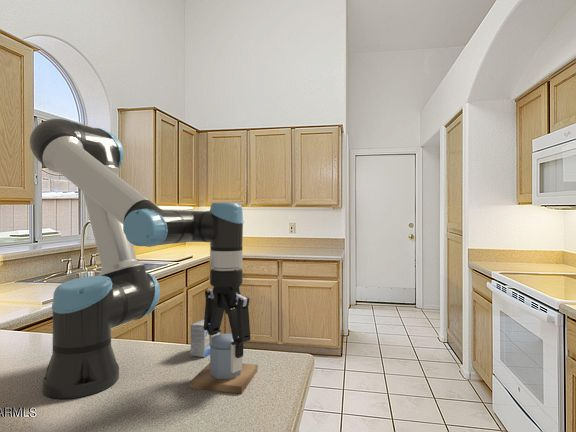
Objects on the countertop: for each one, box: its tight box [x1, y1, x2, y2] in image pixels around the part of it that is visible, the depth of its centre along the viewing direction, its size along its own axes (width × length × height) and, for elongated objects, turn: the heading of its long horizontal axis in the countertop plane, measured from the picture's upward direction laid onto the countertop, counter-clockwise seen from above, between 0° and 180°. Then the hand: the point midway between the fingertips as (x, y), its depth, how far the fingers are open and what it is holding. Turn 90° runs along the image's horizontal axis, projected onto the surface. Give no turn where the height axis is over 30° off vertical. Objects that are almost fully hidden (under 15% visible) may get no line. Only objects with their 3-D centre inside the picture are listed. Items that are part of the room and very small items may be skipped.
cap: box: [209, 333, 241, 379], centre depth 86 cm, size 7×7×8 cm
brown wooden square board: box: [189, 362, 259, 394], centre depth 86 cm, size 12×12×6 cm
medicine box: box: [190, 318, 220, 358], centre depth 103 cm, size 8×4×9 cm, turn 161°
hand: (225, 365), depth 86 cm, fingers closed on cap, 7 cm apart
